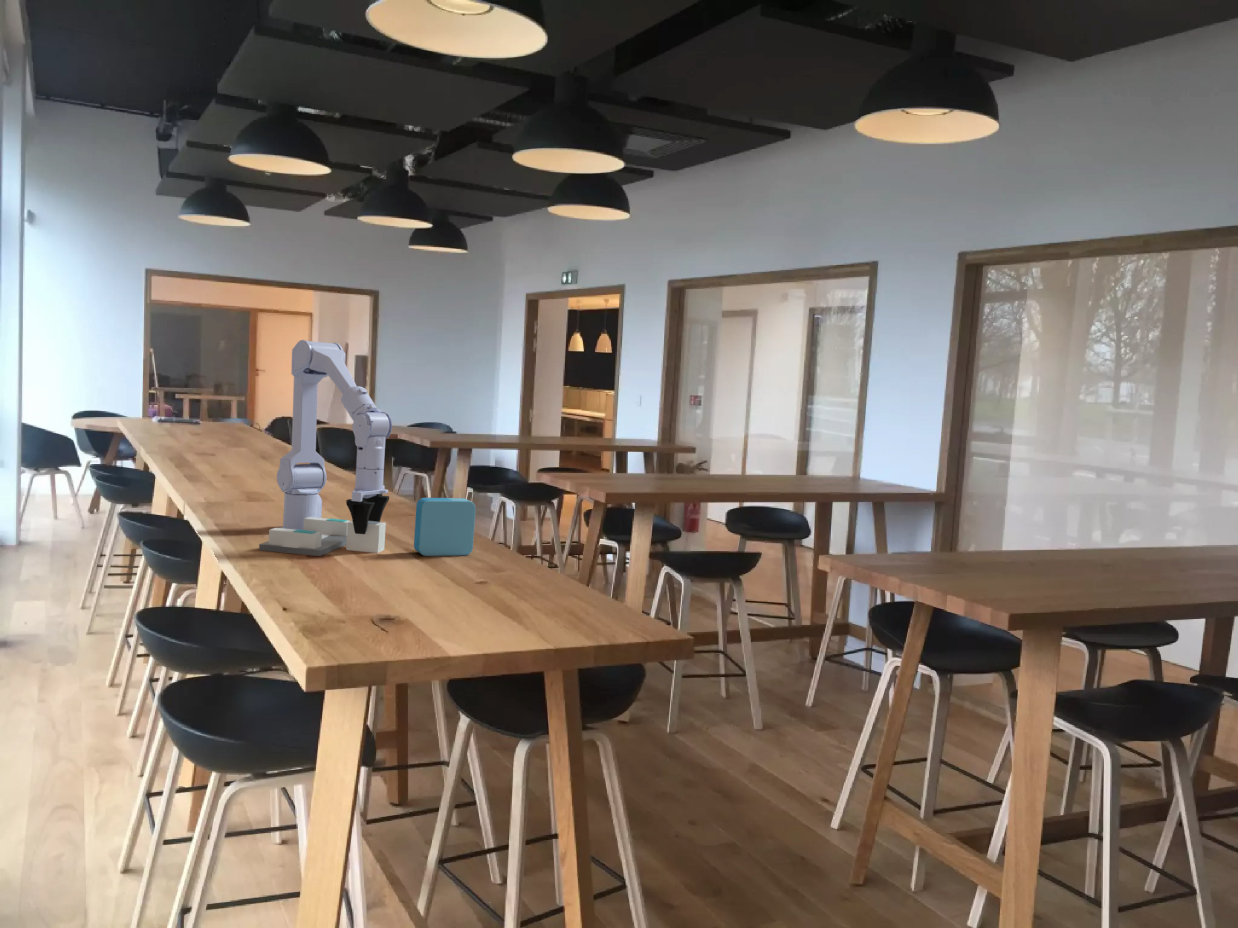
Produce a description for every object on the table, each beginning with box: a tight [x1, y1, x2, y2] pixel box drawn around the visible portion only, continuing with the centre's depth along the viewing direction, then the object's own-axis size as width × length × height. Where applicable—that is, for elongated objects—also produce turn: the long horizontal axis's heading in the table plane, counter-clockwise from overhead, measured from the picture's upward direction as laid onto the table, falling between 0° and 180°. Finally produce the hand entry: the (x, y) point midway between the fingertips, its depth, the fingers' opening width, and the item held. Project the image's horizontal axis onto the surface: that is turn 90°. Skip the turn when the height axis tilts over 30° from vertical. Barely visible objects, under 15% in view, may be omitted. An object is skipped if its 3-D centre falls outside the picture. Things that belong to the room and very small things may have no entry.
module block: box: [345, 520, 387, 554], centre depth 207 cm, size 4×7×6 cm, turn 84°
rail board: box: [258, 517, 351, 557], centre depth 208 cm, size 22×13×4 cm, turn 175°
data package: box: [413, 497, 476, 557], centre depth 209 cm, size 12×4×12 cm, turn 118°
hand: (366, 531), depth 206 cm, fingers open, 7 cm apart
